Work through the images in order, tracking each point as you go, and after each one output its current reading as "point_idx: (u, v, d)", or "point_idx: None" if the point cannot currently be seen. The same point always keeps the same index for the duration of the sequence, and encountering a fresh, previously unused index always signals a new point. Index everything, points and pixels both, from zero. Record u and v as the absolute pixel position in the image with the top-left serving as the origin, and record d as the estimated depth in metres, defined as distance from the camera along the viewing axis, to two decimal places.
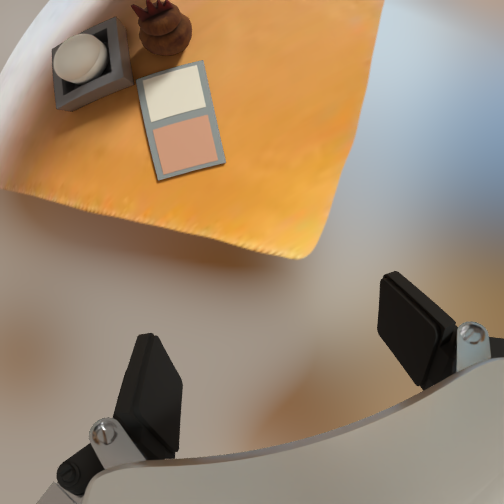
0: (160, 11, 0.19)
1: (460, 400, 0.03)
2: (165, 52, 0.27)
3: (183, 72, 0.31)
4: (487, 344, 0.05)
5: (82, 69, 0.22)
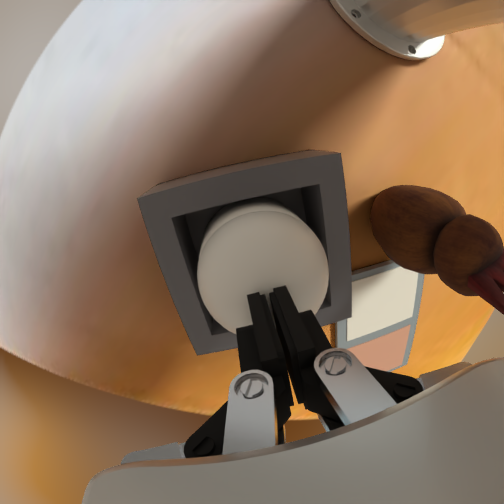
0: None
1: (460, 400, 0.03)
2: None
3: (402, 272, 0.22)
4: (358, 363, 0.07)
5: None
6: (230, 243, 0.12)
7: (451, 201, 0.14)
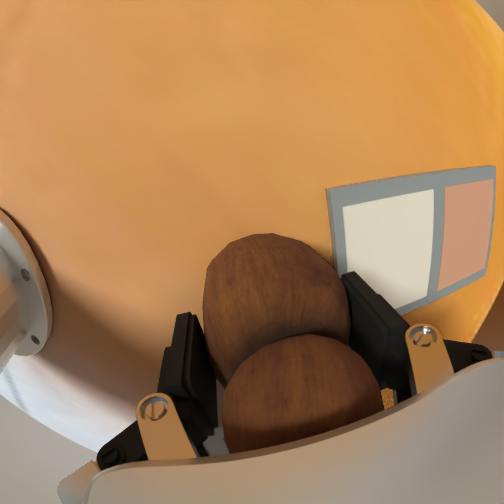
0: None
1: (460, 400, 0.03)
2: None
3: (356, 240, 0.14)
4: (441, 343, 0.06)
5: None
6: None
7: (211, 352, 0.09)
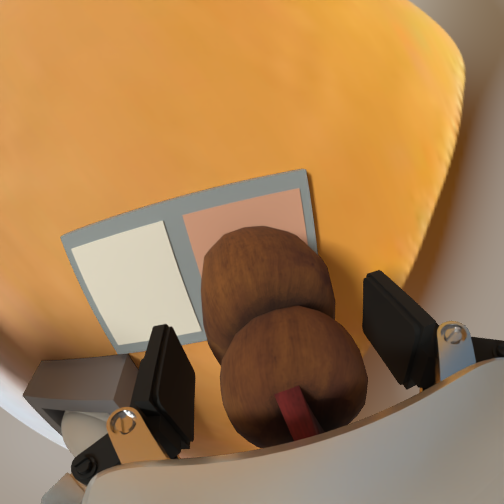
0: (320, 425, 0.06)
1: (460, 400, 0.03)
2: None
3: (90, 274, 0.15)
4: (469, 343, 0.06)
5: None
6: None
7: (209, 330, 0.10)
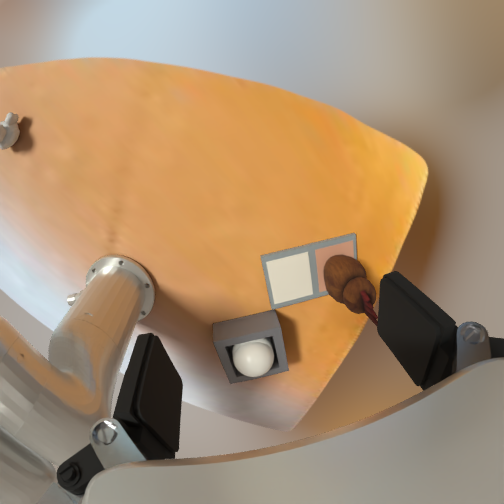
0: None
1: (460, 400, 0.03)
2: None
3: (272, 272, 0.43)
4: (487, 345, 0.05)
5: (270, 353, 0.42)
6: None
7: (336, 285, 0.37)
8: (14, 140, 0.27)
